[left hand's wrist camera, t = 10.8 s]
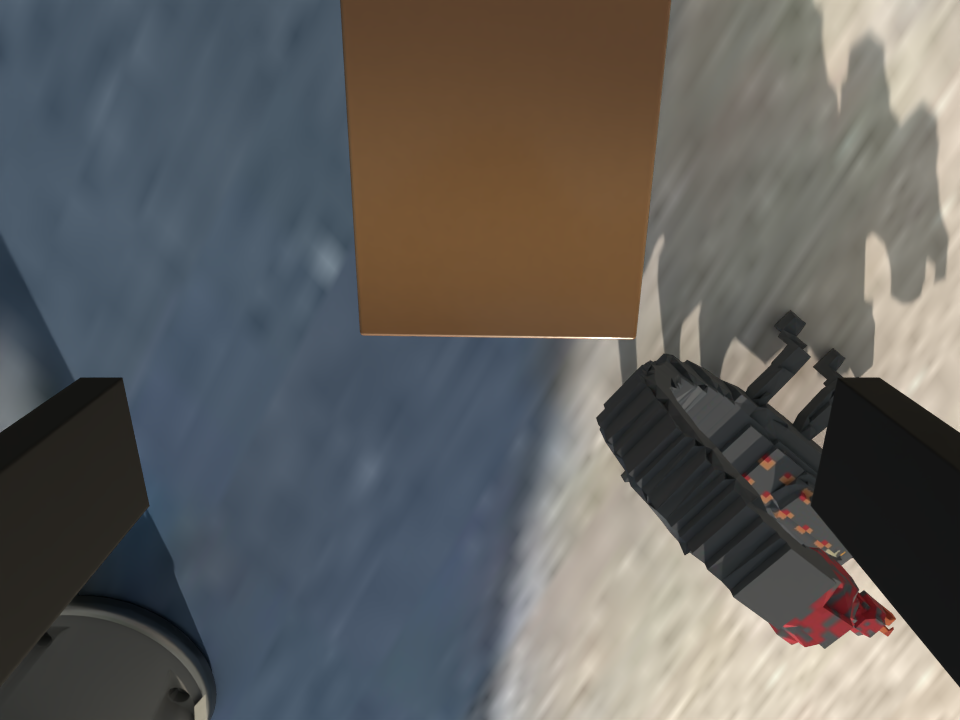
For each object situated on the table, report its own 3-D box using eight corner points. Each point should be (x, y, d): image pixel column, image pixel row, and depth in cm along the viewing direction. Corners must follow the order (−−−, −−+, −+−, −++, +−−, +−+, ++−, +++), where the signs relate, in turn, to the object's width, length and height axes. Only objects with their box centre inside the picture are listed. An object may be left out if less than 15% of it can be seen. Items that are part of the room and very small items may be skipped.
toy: (671, 204, 34) (849, 314, 17) (990, 487, 40) (1362, 781, 23) (505, 389, 38) (514, 628, 21) (817, 621, 44) (1023, 956, 27)
